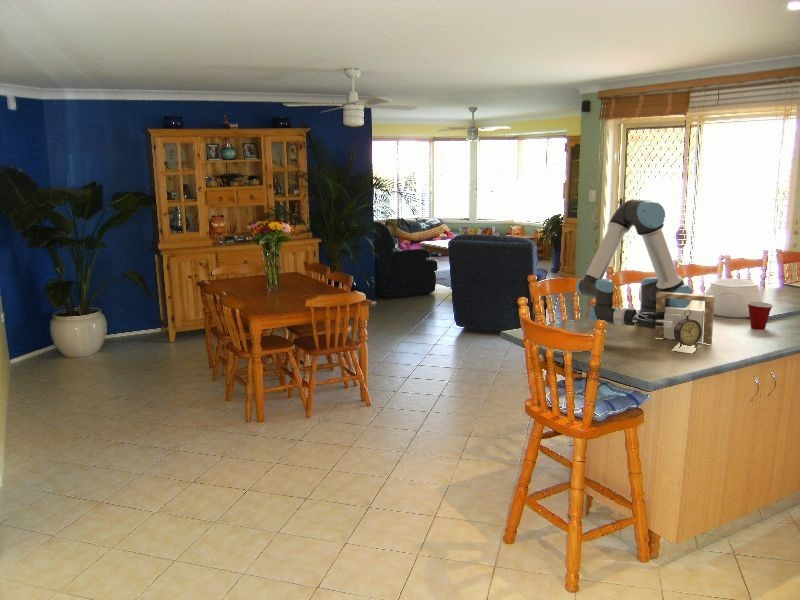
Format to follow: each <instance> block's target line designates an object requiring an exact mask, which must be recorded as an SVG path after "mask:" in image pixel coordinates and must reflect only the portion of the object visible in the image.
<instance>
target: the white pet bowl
mask: <svg viewBox="0 0 800 600" xmlns="http://www.w3.org/2000/svg"><path fill="white" fill-rule="evenodd" d="M709 282H710V285H709V286H708V288H707V289H706V292H705V295H714V296H715V299H714V313H713V316H714V315H715V316H718V317H724V318H735V319H737V318H738V319H741V318H750V316H749V308H748V304H747V302H750V301H754V302H764V301H763V300H764V299H763V293H762V291H761V290H760V288H759V285H760V282H758V281H755V280H752V279H751V280H750V279H745V278H744V279H742V278H716V279H711V280H710V281H709Z"/></svg>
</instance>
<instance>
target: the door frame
mask: <svg viewBox="0 0 800 600" xmlns="http://www.w3.org/2000/svg"><path fill="white" fill-rule="evenodd" d="M656 297H657V298H656V312H665V298H670V299H683V300H691V301H698V302H704V317H703V336H702V344H703V343H706V344H711V343H712V342H713V332H714V331H713V326H714V314H713V313H714V299H715V296H714V295H706V294H701V293H699V294H698V293H693V294H687V293H674V292H660V291H659V292H657V293H656ZM661 317H662V315H661ZM658 320H663V321H664V319H658ZM654 329H655V331H654V338H655V337H656V338H663V337H664V329H665V327H656V326H655V328H654ZM663 339H664V338H663ZM712 344H713V343H712ZM712 344H711V345H712Z"/></svg>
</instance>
